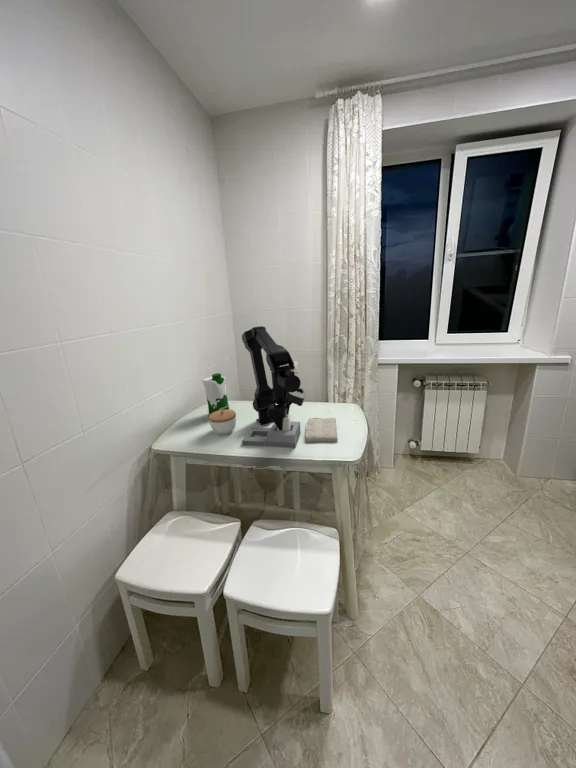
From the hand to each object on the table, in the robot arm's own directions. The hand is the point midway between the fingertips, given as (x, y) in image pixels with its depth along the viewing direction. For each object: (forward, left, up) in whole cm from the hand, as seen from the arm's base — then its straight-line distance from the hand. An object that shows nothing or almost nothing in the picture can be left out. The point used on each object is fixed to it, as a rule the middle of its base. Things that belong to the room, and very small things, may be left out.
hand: (283, 424), depth 109 cm
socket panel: (-3, -4, -6) cm, 8 cm away
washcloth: (+2, +15, -7) cm, 17 cm away
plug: (0, 0, -3) cm, 3 cm away
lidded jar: (-21, -17, -7) cm, 28 cm away
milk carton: (-40, -14, -6) cm, 43 cm away
